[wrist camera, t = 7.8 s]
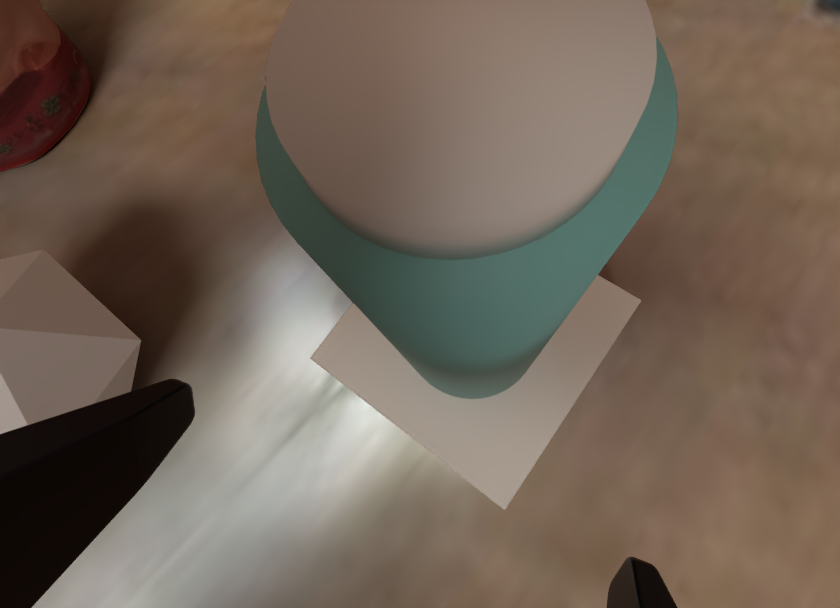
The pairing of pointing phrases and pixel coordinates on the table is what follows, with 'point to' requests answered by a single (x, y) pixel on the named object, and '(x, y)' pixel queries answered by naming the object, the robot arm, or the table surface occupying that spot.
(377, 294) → the thermos
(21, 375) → the die
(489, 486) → the block
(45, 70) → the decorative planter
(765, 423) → the table surface
